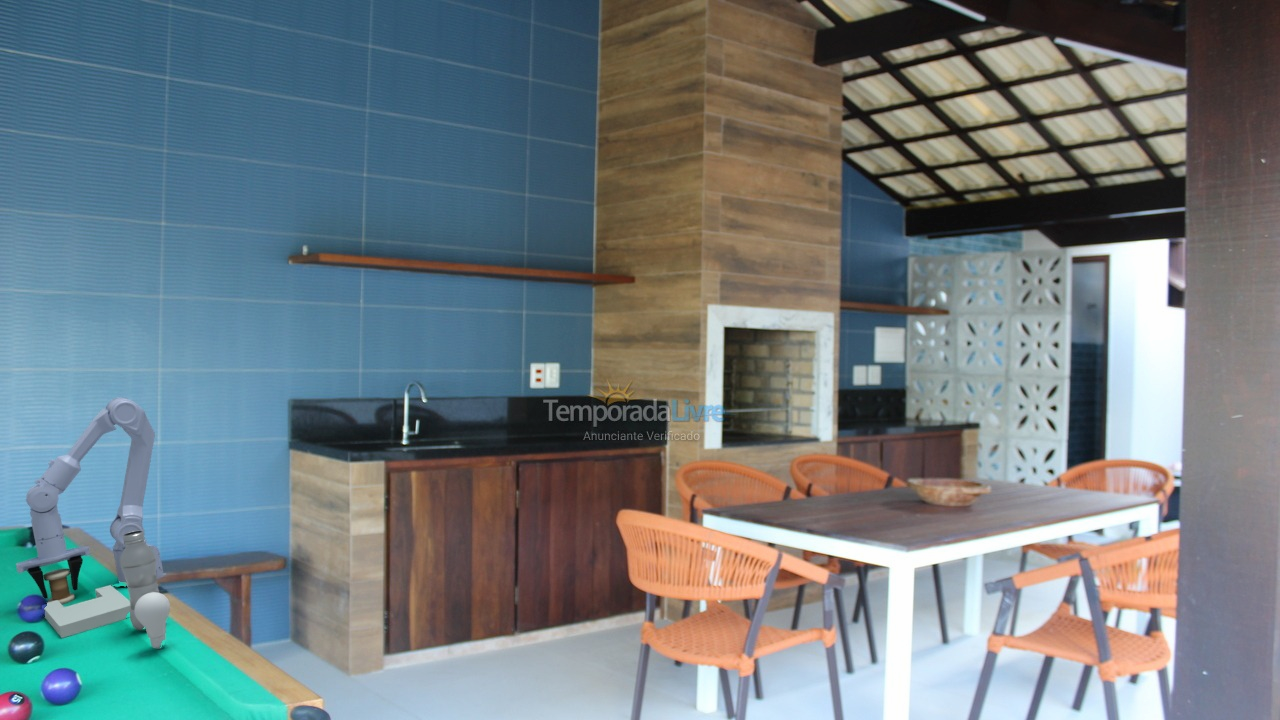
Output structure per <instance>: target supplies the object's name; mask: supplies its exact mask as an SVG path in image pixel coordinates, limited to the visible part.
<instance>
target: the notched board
mask: <svg viewBox="0 0 1280 720" xmlns="http://www.w3.org/2000/svg"><path fill="white" fill-rule="evenodd" d="M111 585H112V584H110V585H105V586H102V587H98V588H95V589H94V591H95V596H96V597H95V598H92V599H89V600H85V601H81V602H77V603H74V604H72V605H68V606H67V605H66V606H64V604H61V603H60V602H59V601H58V600H55V601H52V602H46V603H47V606H46V607H45V608H44V610H45V617H44V618H45V619H46V621H47V622H48V623H49V624H50V625H51V627H52V628H53V629H54V631H55V632H57V634H58V635H59V637H60V638H61V639H64V638H67V637H70V636H71V637H72V636H74V635H77V634H80V633H83V632H87V631H89V630H90V631H91V630H93V629H96V628H100V627H103V626H107V625H110V624H113V623H116V622H117V623H118V622H120V621H123V620H127V619H126V616H127V614H128V613H129V612H130V609H131V607H130V599H128V598H127V597H126V596H124V595H123V594H122V593H121V592H120V591H118V590H117V589H116V587H112V586H111Z"/></svg>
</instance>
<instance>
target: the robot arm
mask: <svg viewBox="0 0 1280 720" xmlns="http://www.w3.org/2000/svg"><path fill="white" fill-rule="evenodd" d="M115 425H117V426H118V427H119V428H122V430H123V431H124V432H125V434H127V435H128V436H129V438H131V440H130V441H131V442H130V448H129V451H128V458H127V462H126V463H127V464H126V469H125V476H124V482H123V485H122V492H121V496H120V497H121V498H120V503H119V506H118V508H117V512H116V516H115V518H114V519H113V521H112V522H111V523H110V527H109V533H110V535H111V537H112V539H114V540H115V543H114V545H113V546H112V552H113V557H114V561H115V568H116V573H117V578H118V582H119V581H120V582H126V579H125V577H124V574H123V571H122V569H121V566H120V557H121V555H122V552H123V551H124V549H125V547H126V545H125V544H124V538H123V535H124V534H126V533H129V532H133V531H143V534H144V535H145V534H146V533H145V529H144V528H145V527H143V520H144V519H143V518H144V513H143V511H144V510H143V509H144V508H143V506H144V502H145V501H144V499H145V495H146V489H147V483H148V478H149V472H150V465H151V459H152V455H153V449H154V442H155V439H156V438H155V436H156V434H155V433H156V432H155V431H154V429H153V426H152V425H151V422H150V421H149V419H148V417H147V414H146V411H145V410H144V409H143V408H142V407H141V406H140V405H139V404H137V402H135V401H133V400H131V399H129V398H126V397H120V396H119V397H114V398H112V399H111V400H110V401H109V402H108V403H107V405H106V407H105V408H104V407H103V408H102V409H101V410H100V411H99V412H98V413H97V414H96V416H94V418H93V419H92V420H91V421H90V422H89V424H88V426H86V428H85V430H84V431H83V432H82V433H81V435H80V436H79V438H78V439H77V440H76V442H75V443H74V445H72V447H71V448H70V449H69V451H68V452H67V453H66V454H64V455H58V456H57V457H56V458H55V459H53V458H51V460H49V462H48V465H49V467H48V468H47V469H46V470H45V472H44V473H43V474H42V475H41V476H40V478H36V479H35V481H34V484H36V485H34V486H32V487H30V488H29V489H28V491H27V492H26V498H25V501H26V504H27V505H28V506H29V508H30V511H29V514H30V517H31V521H30V523H31V526H32V532H33V536H34V542H35V546H36V551H37V556H36V557H33V558H29V559H27V560H23V561H19V562H17V563H15V567H16V570H17V573H18V574H21V573H24V572H25V571H26V572H27V574H29V575H30V576H31V579H33V581H34V582H35V583H36V585H37V587H38V588H39V590H40V594H41V595H42V598H43V597H44V598H45V599H44V598H43V599H44V600H46V599H48V598H49V596H48V593H47V588H46V586H45V584H46V583H45V580H44V576H43V575H44V572H43V570H42V567H45V566H49V565H54V564H57V563H61V562H65V561H67V565H68V569H69V570H70V580H71V581H70V582H71V587H72V590H73V591H75V592H76V591H78V590H79V589H78V585H79V584H78V583H79V575H80V571H81V568H82V565H83V559H84V558H82V557H83V556H90V555H91V550H90V546H89V545H84V546H79V547H74V548H68V549H67V544H66V539H65V533H64V528H63V523H62V519H61V514H60V513H59V510H58V503H59V495H61V494H63V493H64V492H65V491H66V490H67V488H68V487H69V485H70V484H71V483H72V482H73V480H74V479H75V478H76V477H77V475H78V474H79V473H80V472H81V470H82V469H81V468H82V467H81V462H82V460H83V459H84V457H85V456H86V455H87V454H88V453H89V451H90V450H91V449H92V448H93V447H94V446H95V444H96V443H97V442H99V440H100V439H101V437H102V436H103V435H104V434H107V433H110V432H113V431H117V427H115ZM144 543H145V544H146V545H148V546H149V547H150V548H151V549H152V550H153V552H154V554H155V561H156V577H157V580H160V579H162V578H163V577H165V576H167V573H164V569H163V564H162V563H163V562H162V558H161V553H160V550H159V548H158V547H157V546H155V545H152V544H149V543H148V542H147V539H145V540H144Z"/></svg>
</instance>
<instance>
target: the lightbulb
mask: <svg viewBox="0 0 1280 720" xmlns="http://www.w3.org/2000/svg"><path fill="white" fill-rule="evenodd" d="M170 610H171V603H170V600H169V598H168V597H167V596H166V595H164V594H163V593H160V592H159V593H157V592H151V593H147V594H145V595H143V596H142V597H141V598H140V599H139V600H138V601H137V603H136V605H135V609H134V612H135V616H136V618H137V619H138V621H139V622H140V623H141V624H142V625H143V626H144V627H145V629H146V630H145V631H146V634H147V637H148V638H149V641H150V645H151V648H153V649H157V650H159V649H160V650H161V648H160V647H161V643H162V641H163V640H165V639H166V640H167V638H166V633H167V629H166V627H167V624H166V623H167V620H168V617H169V614H170Z"/></svg>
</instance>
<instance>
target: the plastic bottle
mask: <svg viewBox="0 0 1280 720" xmlns="http://www.w3.org/2000/svg"><path fill="white" fill-rule="evenodd" d="M123 538H124V544H125V545H126V547H125V549H124V551H123V552H122V555H121V557H120V566H121V569H122V571H123V574H124V577H125V579H126V583H127V587H126V588H127V591H128V595H129V601H130V607H131V609H130V618H129V619H130V622H131V625H132V627H133V628H134V629H135V630H137V631H143V630H142V629H143V628H144V626H143V625H142V624H141V623H140V622H139V621H138V619H137V618H136V616H135V612H134V609H135V605H136V603H137V601H138V600H139V599H140V598H141V597H142V596H143V595H145V594H147V593H151V592H157V593H160V589H159V586H158V581H157V580H158V579H157V577H156V561H155V554H154V552H153V550H152V549H151V548H150V547H149V546H148V545H146V544H145V543H144V540H146V537H145V534H143V531H133V532H129V533H126V534H124V535H123Z"/></svg>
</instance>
